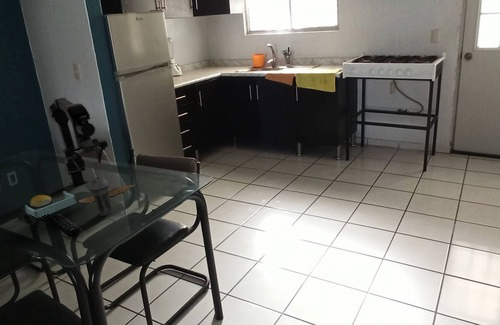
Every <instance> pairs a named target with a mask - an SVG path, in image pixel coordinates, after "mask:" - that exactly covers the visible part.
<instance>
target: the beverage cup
mask: <svg viewBox="0 0 500 325" xmlns="http://www.w3.org/2000/svg"><path fill="white" fill-rule="evenodd" d="M91 171H92V173H93V175H94V178H93V179H92V180H91V181H90V183H89V190H90V193H91V195H92V194H93V196H94V199H95V201H94V202H95V203H96V207H97V209H98V212H99V214H100V216H101V217H102V216H103V217H104V216H108V215H110V214H112V204H111V196H110V195H109V189H110V185H109V182H108V181H107V179H105V178H104V177H100V176H97V175H96V173H95V170H94V168H93V167H92V168H91Z"/></svg>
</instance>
